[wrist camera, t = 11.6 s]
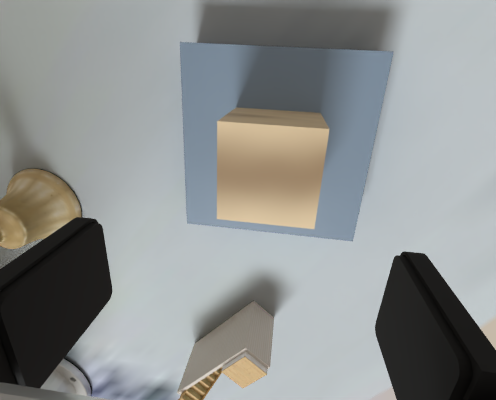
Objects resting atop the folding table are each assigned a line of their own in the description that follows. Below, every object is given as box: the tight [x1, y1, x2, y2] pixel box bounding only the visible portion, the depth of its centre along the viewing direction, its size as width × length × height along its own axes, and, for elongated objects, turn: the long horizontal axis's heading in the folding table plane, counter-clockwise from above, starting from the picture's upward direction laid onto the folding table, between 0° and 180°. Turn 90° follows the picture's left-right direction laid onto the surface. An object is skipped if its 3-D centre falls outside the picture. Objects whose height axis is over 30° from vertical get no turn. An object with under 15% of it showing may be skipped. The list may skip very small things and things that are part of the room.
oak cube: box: [217, 107, 329, 229], centre depth 20 cm, size 6×6×6 cm
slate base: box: [180, 42, 393, 241], centre depth 25 cm, size 14×14×4 cm
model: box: [177, 301, 274, 400], centre depth 33 cm, size 3×11×8 cm, turn 137°
